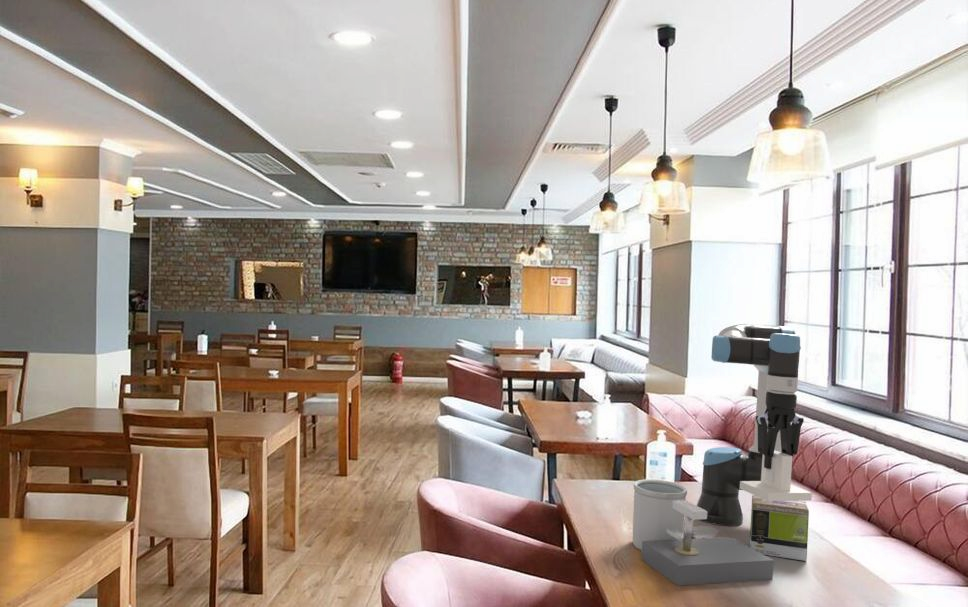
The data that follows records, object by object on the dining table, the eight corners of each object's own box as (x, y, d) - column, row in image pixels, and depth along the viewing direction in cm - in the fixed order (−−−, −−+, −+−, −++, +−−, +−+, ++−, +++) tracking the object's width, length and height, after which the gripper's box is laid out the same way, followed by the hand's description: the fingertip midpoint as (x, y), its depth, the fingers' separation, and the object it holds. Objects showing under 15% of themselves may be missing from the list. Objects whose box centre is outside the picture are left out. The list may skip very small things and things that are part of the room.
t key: (663, 538, 200) (666, 496, 200) (676, 538, 202) (679, 496, 201) (690, 556, 187) (693, 511, 187) (704, 556, 189) (707, 511, 189)
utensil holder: (674, 559, 200) (678, 495, 200) (622, 547, 208) (626, 485, 208) (689, 546, 213) (693, 485, 213) (640, 534, 221) (644, 476, 221)
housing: (729, 554, 207) (730, 536, 207) (772, 579, 190) (773, 559, 190) (641, 559, 199) (642, 540, 199) (677, 585, 182) (679, 564, 182)
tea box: (803, 551, 215) (807, 501, 214) (806, 562, 205) (810, 509, 205) (748, 542, 219) (752, 493, 219) (749, 553, 210) (752, 501, 210)
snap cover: (780, 488, 201) (783, 448, 201) (811, 500, 190) (814, 457, 190) (739, 488, 198) (742, 447, 198) (768, 501, 186) (770, 457, 186)
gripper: (764, 393, 188) (758, 485, 188) (817, 395, 192) (811, 484, 192) (746, 389, 195) (740, 477, 195) (797, 391, 199) (792, 477, 199)
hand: (775, 480), depth 194 cm, fingers closed on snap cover, 3 cm apart
